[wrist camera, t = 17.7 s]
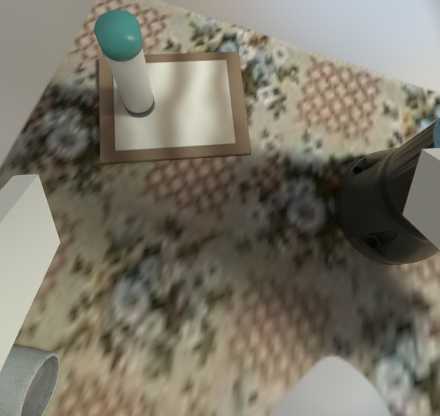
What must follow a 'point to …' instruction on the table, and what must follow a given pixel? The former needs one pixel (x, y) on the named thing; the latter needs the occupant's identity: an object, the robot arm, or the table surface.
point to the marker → (126, 60)
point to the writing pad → (177, 111)
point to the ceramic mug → (28, 381)
